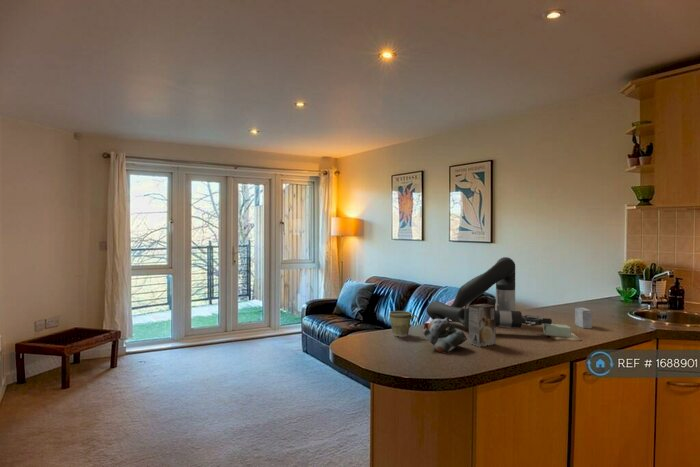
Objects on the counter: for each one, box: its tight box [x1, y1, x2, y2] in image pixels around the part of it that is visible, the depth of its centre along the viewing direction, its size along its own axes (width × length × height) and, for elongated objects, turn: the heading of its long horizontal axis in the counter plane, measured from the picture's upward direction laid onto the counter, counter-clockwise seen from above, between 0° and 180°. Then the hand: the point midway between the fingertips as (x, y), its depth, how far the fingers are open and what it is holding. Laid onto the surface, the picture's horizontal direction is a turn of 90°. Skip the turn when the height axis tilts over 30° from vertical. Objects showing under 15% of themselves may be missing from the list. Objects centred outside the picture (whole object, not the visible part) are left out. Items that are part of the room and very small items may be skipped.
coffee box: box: [468, 303, 497, 348], centre depth 178 cm, size 9×6×16 cm
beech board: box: [548, 332, 582, 342], centre depth 190 cm, size 11×12×1 cm
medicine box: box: [574, 307, 593, 329], centre depth 211 cm, size 8×4×9 cm, turn 179°
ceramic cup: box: [389, 310, 419, 338], centre depth 193 cm, size 13×10×10 cm
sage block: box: [542, 323, 572, 337], centre depth 191 cm, size 4×6×10 cm
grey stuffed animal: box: [422, 316, 468, 354], centre depth 172 cm, size 15×12×14 cm
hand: (551, 321), depth 191 cm, fingers closed
